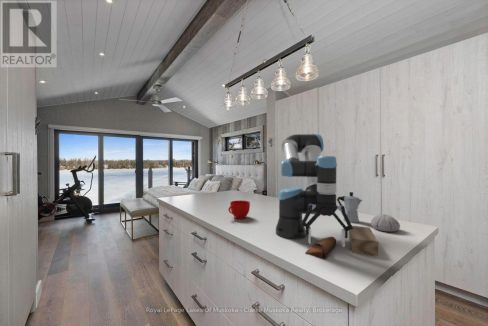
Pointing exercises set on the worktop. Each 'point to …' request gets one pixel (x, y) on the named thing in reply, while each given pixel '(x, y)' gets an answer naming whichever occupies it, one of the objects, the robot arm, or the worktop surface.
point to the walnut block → (363, 241)
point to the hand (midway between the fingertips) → (326, 244)
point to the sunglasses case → (322, 247)
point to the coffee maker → (350, 207)
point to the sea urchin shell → (385, 223)
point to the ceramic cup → (239, 208)
